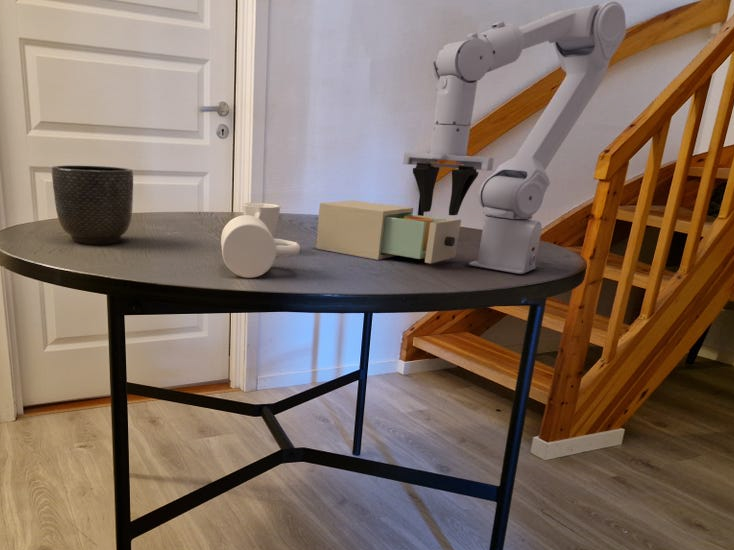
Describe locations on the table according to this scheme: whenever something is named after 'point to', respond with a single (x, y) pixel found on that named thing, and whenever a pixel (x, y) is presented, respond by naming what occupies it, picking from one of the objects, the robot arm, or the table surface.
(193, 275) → the table surface
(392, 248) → the drawer
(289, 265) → the table surface
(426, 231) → the tumbler
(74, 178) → the planter
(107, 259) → the table surface
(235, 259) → the mug
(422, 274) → the table surface
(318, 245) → the cabinet
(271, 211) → the cup
